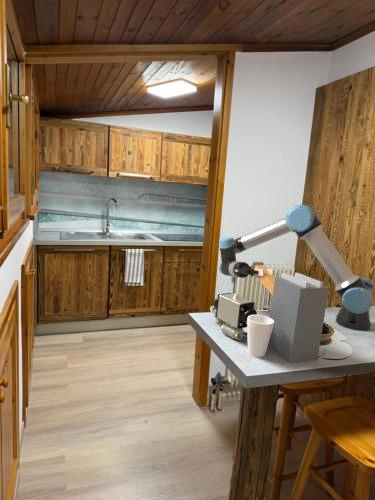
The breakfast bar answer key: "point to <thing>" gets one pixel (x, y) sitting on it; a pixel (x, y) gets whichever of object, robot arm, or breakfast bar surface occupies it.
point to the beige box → (215, 314)
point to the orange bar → (265, 276)
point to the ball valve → (233, 313)
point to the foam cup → (258, 334)
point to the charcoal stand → (297, 317)
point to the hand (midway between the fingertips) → (268, 272)
